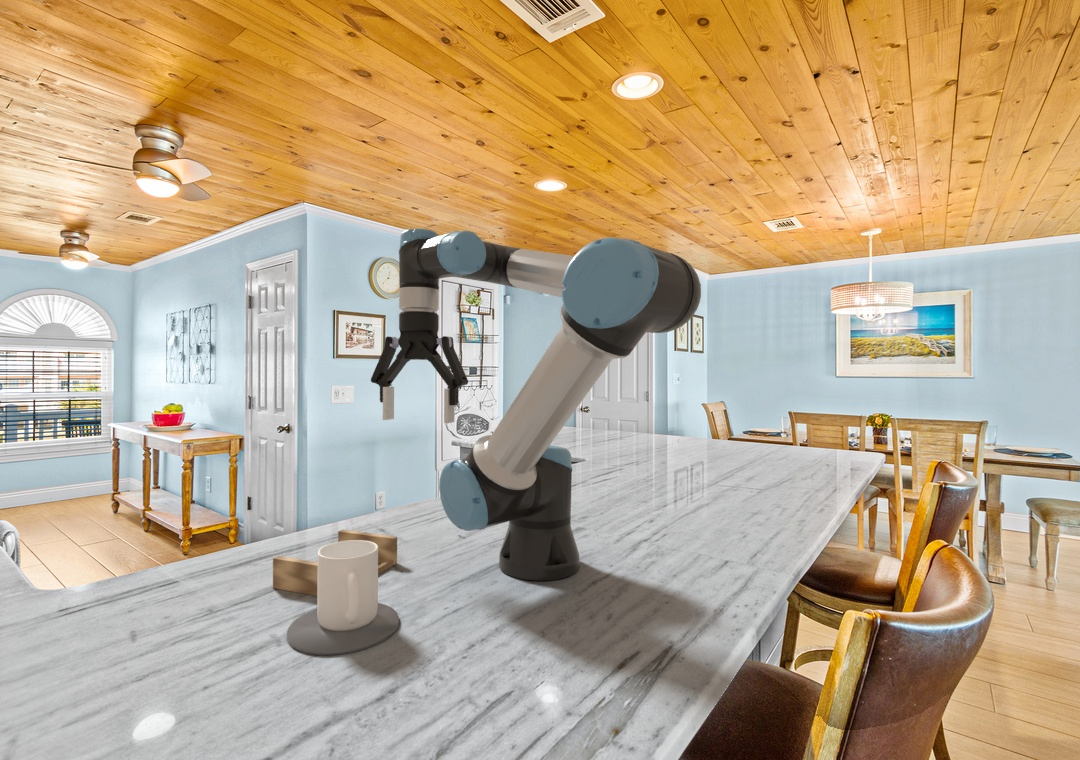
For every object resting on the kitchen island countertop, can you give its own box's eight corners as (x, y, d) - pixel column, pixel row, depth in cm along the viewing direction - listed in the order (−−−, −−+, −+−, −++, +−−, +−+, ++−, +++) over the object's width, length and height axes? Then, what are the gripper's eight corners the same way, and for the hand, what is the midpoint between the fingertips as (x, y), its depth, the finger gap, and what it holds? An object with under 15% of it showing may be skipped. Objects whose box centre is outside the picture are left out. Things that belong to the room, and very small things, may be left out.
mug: (385, 638, 74) (385, 563, 74) (319, 650, 71) (319, 571, 71) (373, 603, 85) (374, 537, 85) (316, 612, 82) (316, 543, 82)
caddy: (397, 563, 104) (397, 536, 104) (334, 599, 88) (335, 568, 88) (342, 554, 109) (342, 529, 108) (272, 588, 92) (273, 558, 92)
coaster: (418, 614, 83) (418, 610, 83) (354, 664, 69) (354, 659, 69) (336, 599, 88) (336, 595, 88) (261, 643, 74) (261, 638, 74)
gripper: (485, 312, 106) (484, 422, 107) (376, 314, 114) (375, 416, 115) (468, 308, 99) (467, 425, 100) (352, 311, 107) (352, 419, 108)
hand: (418, 421), depth 107 cm, fingers open, 13 cm apart
